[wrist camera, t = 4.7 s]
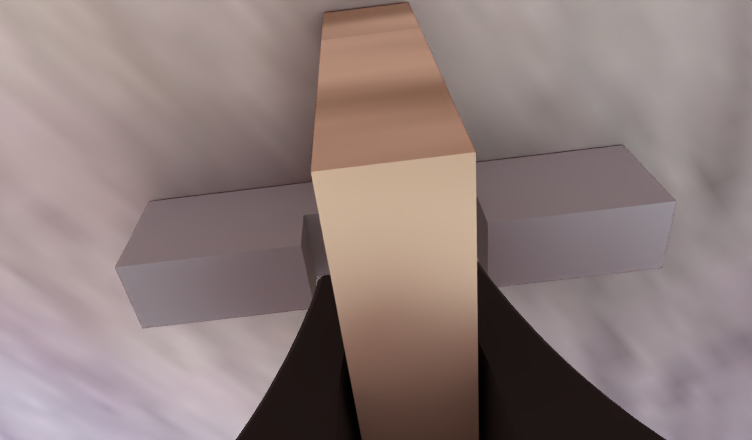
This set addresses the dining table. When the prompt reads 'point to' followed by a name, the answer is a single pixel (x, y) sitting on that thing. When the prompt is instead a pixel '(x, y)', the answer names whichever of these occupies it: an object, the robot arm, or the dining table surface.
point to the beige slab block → (398, 226)
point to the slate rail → (308, 254)
